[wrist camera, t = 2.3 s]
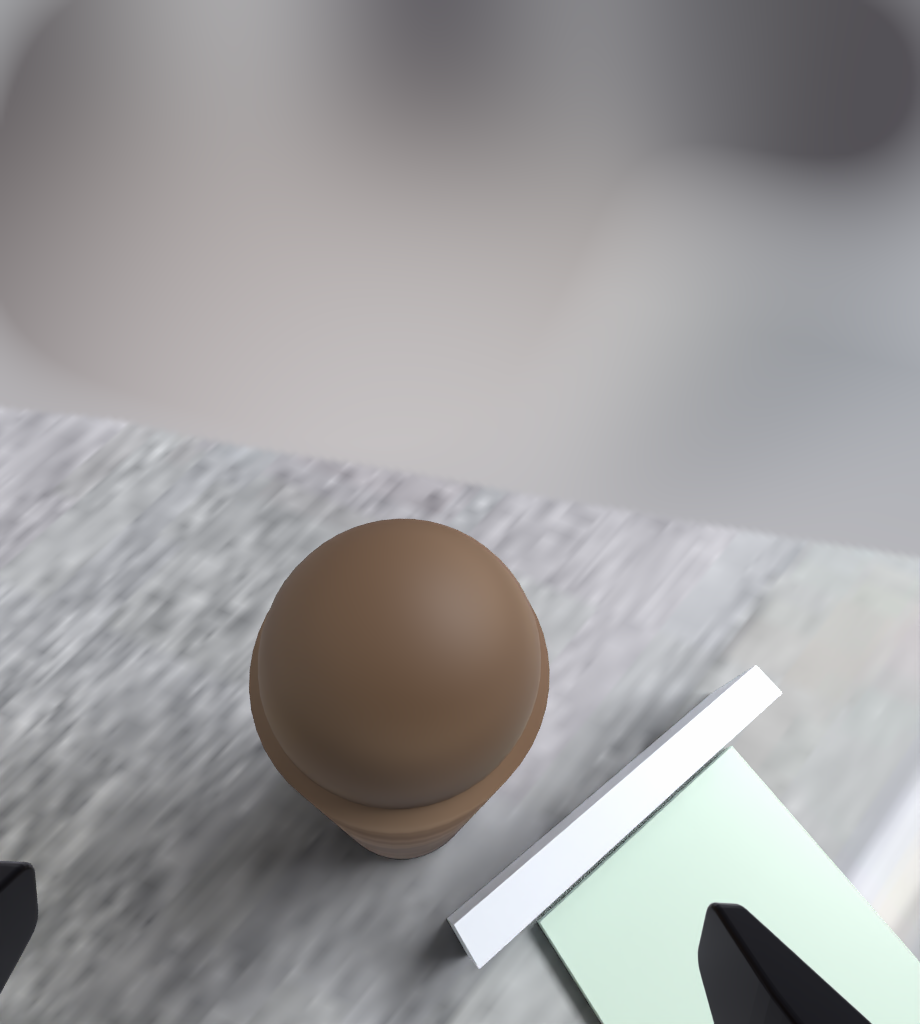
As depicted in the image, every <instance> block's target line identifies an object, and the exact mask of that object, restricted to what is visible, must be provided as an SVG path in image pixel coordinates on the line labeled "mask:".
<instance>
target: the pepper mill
mask: <svg viewBox="0 0 920 1024" xmlns="http://www.w3.org/2000/svg"><path fill="white" fill-rule="evenodd" d="M548 692H549V661H548V652H547V647H546V643H545V639H544V635H543V632H542V629H541V626H540V624H539V621H538V618H537V616H536V614H535V612H534V610H533V608H532V607H531V605H530V603H529V601H528V599H527V597H526V595H525V593H524V591H523V590H522V588H521V586H520V584H519V582H518V581H517V580H516V578H515V577H514V575H513V574H512V573H511V571H510V570H509V569H508V568H507V567H506V565H505V564H504V563H503V562H502V561H501V560H500V559H499V558H498V557H497V556H496V555H494V554H493V553H492V552H491V551H490V550H489V549H487V548H486V547H485V546H484V545H482V544H481V543H479V542H478V541H476V540H475V539H473V538H472V537H470V536H468V535H466V534H464V533H462V532H460V531H458V530H456V529H453V528H451V527H448V526H445V525H442V524H438V523H434V522H430V521H424V520H416V519H391V520H381V521H376V522H371V523H367V524H364V525H361V526H357V527H354V528H351V529H349V530H347V531H345V532H343V533H340V534H338V535H336V536H335V537H333V538H331V539H330V540H328V541H326V542H325V543H323V544H322V545H321V546H319V547H318V548H317V549H315V550H314V551H313V552H312V553H310V554H309V555H308V556H307V557H306V558H305V559H304V560H303V561H302V562H301V563H300V564H299V565H298V566H297V567H296V568H295V569H294V570H293V572H292V573H291V574H290V575H289V577H288V578H287V579H286V580H285V582H284V583H283V585H282V587H281V588H280V590H279V592H278V593H277V595H276V597H275V599H274V601H273V603H272V606H271V608H270V610H269V612H268V613H267V615H266V617H265V619H264V622H263V624H262V626H261V628H260V631H259V633H258V636H257V639H256V643H255V646H254V649H253V654H252V660H251V666H250V680H249V693H250V702H251V711H252V715H253V719H254V723H255V726H256V730H257V733H258V735H259V737H260V740H261V742H262V745H263V747H264V749H265V751H266V753H267V754H268V756H269V758H270V759H271V761H272V763H273V764H274V766H275V767H276V769H277V770H278V771H279V772H280V774H281V775H282V776H283V777H284V778H285V780H286V781H287V782H288V783H289V784H290V785H291V786H292V787H293V788H294V789H295V790H297V791H298V792H299V793H300V794H301V795H302V796H303V797H304V798H306V799H307V800H308V801H309V802H310V803H312V804H313V805H314V806H315V807H316V808H317V809H319V810H320V811H321V812H322V813H323V814H325V815H326V816H327V817H328V818H329V819H330V820H332V821H333V822H334V823H335V824H336V825H338V826H339V827H340V828H341V829H342V830H344V831H345V832H346V833H347V834H348V835H349V836H351V837H352V838H353V839H354V840H355V841H357V842H358V843H359V844H360V845H361V846H363V847H364V848H366V849H367V850H369V851H371V852H373V853H375V854H377V855H380V856H384V857H387V858H394V859H410V858H416V857H420V856H423V855H426V854H429V853H431V852H433V851H435V850H437V849H438V848H440V847H441V846H443V845H444V844H446V843H447V842H448V841H449V840H450V839H451V838H452V837H453V836H454V835H455V834H456V833H457V832H458V831H459V830H460V829H461V828H462V827H463V826H464V825H465V824H466V823H467V822H468V821H469V820H470V818H471V817H472V816H473V815H474V814H475V813H476V812H477V811H478V810H479V809H480V808H481V807H482V806H483V805H484V804H485V803H486V802H487V801H488V800H489V798H490V797H491V796H492V795H493V794H494V793H495V792H496V791H497V790H498V789H499V788H500V787H501V786H502V785H503V784H504V783H505V782H506V781H507V779H508V778H509V777H510V776H511V775H512V773H513V772H514V771H515V770H516V769H517V768H518V766H519V765H520V764H521V762H522V761H523V759H524V758H525V756H526V754H527V753H528V751H529V750H530V748H531V746H532V744H533V742H534V740H535V738H536V736H537V733H538V731H539V729H540V726H541V723H542V720H543V716H544V713H545V710H546V704H547V698H548Z"/></svg>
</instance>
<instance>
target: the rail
mask: <svg viewBox="0 0 920 1024" xmlns="http://www.w3.org/2000/svg"><path fill="white" fill-rule="evenodd" d="M781 694H782V692H781V691H780V690H779V689H778V688H777V686H776V685H775V684H774V683H773V682H772V681H771V680H770V679H769V678H768V677H767V676H766V675H765V674H764V673H763V672H762V671H761V670H760V669H759V667H758V666H757V665H755V666H753V667H752V668H750V669H749V670H747V671H745V672H744V673H742V674H741V675H739V676H737V677H736V678H734V679H733V680H731V681H730V682H728V683H726V684H725V685H723V686H722V687H720V688H718V689H717V690H715V691H714V692H712V693H711V694H710V695H709V696H707V697H706V698H705V699H704V700H703V701H702V702H700V703H699V704H698V705H697V706H696V707H695V708H693V709H692V710H691V711H690V712H689V713H688V714H686V715H685V716H684V717H683V718H682V719H680V720H679V721H678V722H677V723H676V724H675V725H673V726H672V727H671V728H670V729H669V730H668V731H666V732H665V733H664V734H663V735H662V736H661V737H659V738H658V739H657V740H656V741H655V742H653V743H652V744H651V745H650V746H649V747H648V748H646V749H645V750H644V751H643V752H642V753H641V754H639V755H638V756H637V757H636V758H635V759H633V760H632V761H631V762H630V763H629V764H628V765H626V766H625V767H624V768H623V769H622V770H621V771H619V772H618V773H617V774H616V775H615V776H614V777H612V778H611V779H610V780H609V781H608V782H606V783H605V784H604V785H603V786H602V787H601V788H599V789H598V790H597V791H596V792H595V793H594V794H592V795H591V796H590V797H589V798H588V799H587V800H585V801H584V802H583V803H582V804H581V805H579V806H578V807H577V808H576V809H575V810H574V811H572V812H571V813H570V814H569V815H568V816H567V817H565V818H564V819H563V820H562V821H561V822H560V823H558V824H557V825H556V826H555V827H554V828H552V829H551V830H550V831H549V832H548V833H547V834H545V835H544V836H543V837H542V838H541V839H540V840H538V841H537V842H536V843H535V844H534V845H533V846H531V847H530V848H529V849H528V850H527V851H525V852H524V853H523V854H522V855H521V856H520V857H518V858H517V859H516V860H515V861H514V862H513V863H511V864H510V865H509V866H508V867H507V868H506V869H504V870H503V871H502V872H501V873H500V874H498V875H497V876H496V877H495V878H494V879H493V880H491V881H490V882H489V883H488V884H487V885H486V886H484V887H483V888H482V889H481V890H480V891H479V892H477V893H476V894H475V895H474V896H473V897H471V898H470V899H469V900H468V901H467V902H466V903H464V904H463V905H462V906H461V907H460V908H459V909H457V910H456V911H455V912H454V913H453V914H451V915H450V916H449V917H448V918H447V920H448V922H449V923H450V925H451V927H452V929H453V930H454V932H455V934H456V936H457V937H458V939H459V941H460V943H461V944H462V946H463V948H464V950H465V951H466V953H467V955H468V956H469V957H470V959H471V960H472V961H473V962H474V963H475V965H476V966H477V967H478V968H479V969H480V968H481V967H482V966H483V965H484V964H485V963H487V962H488V961H489V960H490V959H491V958H492V957H493V956H494V955H495V954H496V953H498V952H499V951H500V950H501V949H502V948H503V947H504V946H505V945H506V944H507V943H509V942H510V941H511V940H512V939H513V938H514V937H515V936H516V935H517V934H518V933H520V932H521V931H522V930H523V929H524V928H525V927H526V926H527V925H528V924H529V923H530V922H532V921H533V920H534V919H535V918H536V917H537V916H538V915H539V914H540V913H541V912H543V911H544V910H545V909H546V908H547V907H548V906H549V905H550V904H551V903H552V902H554V901H555V900H556V899H557V898H558V897H559V896H560V895H561V894H562V893H563V892H565V891H566V890H567V889H568V888H569V887H570V886H571V885H572V884H573V883H574V882H575V881H577V880H578V879H579V878H580V877H581V876H582V875H583V874H584V873H585V872H586V871H588V870H589V869H590V868H591V867H592V866H593V865H594V864H595V863H596V862H597V861H599V860H600V859H601V858H602V857H603V856H604V855H605V854H606V853H607V852H608V851H610V850H611V849H612V848H613V847H614V846H615V845H616V844H617V843H618V842H619V841H620V840H622V839H623V838H624V837H625V836H626V835H627V834H628V833H629V832H630V831H631V830H633V829H634V828H635V827H636V826H637V825H638V824H639V823H640V822H641V821H642V820H644V819H645V818H646V817H647V816H648V815H649V814H650V813H651V812H652V811H653V810H655V809H656V808H657V807H658V806H659V805H660V804H661V803H662V802H663V801H664V800H666V799H667V798H668V797H669V796H670V795H671V794H672V793H673V792H674V791H675V790H676V789H678V788H679V787H680V786H681V785H682V784H683V783H684V782H685V781H686V780H687V779H689V778H690V777H691V776H692V775H693V774H694V773H695V772H696V771H697V770H698V769H700V768H701V767H702V766H703V765H704V764H705V763H706V762H707V761H708V760H709V759H711V758H712V757H713V756H714V755H715V754H716V753H717V752H718V751H719V750H720V749H721V748H723V747H724V746H725V745H726V744H727V743H728V742H729V741H730V740H731V739H732V738H734V737H735V736H736V735H737V734H738V733H739V732H740V731H741V730H742V729H743V728H745V727H746V726H747V725H748V724H749V723H750V722H751V721H752V720H753V719H754V718H756V717H757V716H758V715H759V714H760V713H761V712H762V711H763V710H764V709H765V708H766V707H768V706H769V705H770V704H771V703H772V702H773V701H774V700H775V699H776V698H777V697H779V696H780V695H781Z"/></svg>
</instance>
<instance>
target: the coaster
mask: <svg viewBox="0 0 920 1024" xmlns="http://www.w3.org/2000/svg"><path fill="white" fill-rule="evenodd" d="M714 902H719V903H735V904H739V905H741V906H743V907H744V908H746V909H747V910H748V911H749V912H750V913H751V914H753V915H754V916H755V917H756V918H757V919H758V920H759V921H760V922H761V923H762V924H763V925H765V926H766V927H767V928H768V929H769V930H770V931H771V932H772V933H773V934H774V935H776V936H777V937H778V938H779V939H780V940H781V941H782V942H783V943H784V944H785V945H787V946H788V947H789V948H790V949H791V950H792V951H793V952H794V953H795V954H796V955H797V956H799V957H800V958H801V959H802V960H803V961H804V962H805V963H806V964H807V965H808V966H810V967H811V968H812V969H813V970H814V971H815V972H816V973H817V974H818V975H819V976H821V977H822V978H823V979H824V980H825V981H826V982H827V983H828V984H829V985H830V986H831V987H833V988H834V989H835V990H836V991H837V992H838V993H839V994H840V995H841V996H842V997H844V998H845V999H846V1000H847V1001H848V1002H849V1003H850V1004H851V1005H852V1006H853V1007H854V1008H856V1009H857V1010H858V1011H859V1012H860V1013H861V1014H862V1015H863V1016H864V1017H865V1018H867V1019H868V1020H869V1021H870V1022H871V1023H872V1024H920V962H919V961H918V960H917V958H916V957H915V956H914V955H913V954H912V953H911V951H910V950H909V949H908V948H907V947H906V946H905V945H904V943H903V942H902V941H901V940H900V939H899V938H898V937H897V935H896V934H895V933H894V932H893V931H892V930H891V928H890V927H889V926H888V925H887V924H886V923H885V922H884V920H883V919H882V918H881V917H880V916H879V915H878V913H877V912H876V911H875V910H874V909H873V908H872V907H871V905H870V904H869V903H868V902H867V901H866V900H865V899H864V897H863V896H862V895H861V894H860V893H859V892H858V890H857V889H856V888H855V887H854V886H853V885H852V884H851V882H850V881H849V880H848V879H847V878H846V877H845V876H844V874H843V873H842V872H841V871H840V870H839V869H838V867H837V866H836V865H835V864H834V863H833V862H832V861H831V859H830V858H829V857H828V856H827V855H826V854H825V852H824V851H823V850H822V849H821V848H820V847H819V846H818V844H817V843H816V842H815V841H814V840H813V839H812V838H811V836H810V835H809V834H808V833H807V832H806V831H805V829H804V828H803V827H802V826H801V825H800V824H799V823H798V821H797V820H796V819H795V818H794V817H793V816H792V815H791V813H790V812H789V811H788V810H787V809H786V808H785V806H784V805H783V804H782V803H781V802H780V801H779V800H778V798H777V797H776V796H775V795H774V794H773V793H772V791H771V790H770V789H769V788H768V787H767V786H766V785H765V783H764V782H763V781H762V780H761V779H760V778H759V777H758V775H757V774H756V773H755V772H754V771H753V770H752V768H751V767H750V766H749V765H748V764H747V763H746V762H745V760H744V759H743V758H742V757H741V756H740V755H739V754H738V752H737V751H736V750H735V749H734V748H733V747H732V746H731V747H728V748H726V749H725V750H724V751H723V752H722V753H721V754H720V755H719V756H717V757H716V758H715V759H714V760H713V761H712V762H711V763H710V764H709V765H708V766H706V767H705V768H704V769H703V770H702V771H701V772H700V773H699V774H698V775H697V776H696V777H694V778H693V779H692V780H691V781H690V782H689V783H688V784H687V785H686V786H685V787H684V788H682V789H681V790H680V791H679V792H678V793H677V794H676V795H675V796H674V797H673V798H672V799H670V800H669V801H668V802H667V803H666V804H665V805H664V806H663V807H662V808H661V809H660V810H658V811H657V812H656V813H655V814H654V815H653V816H652V817H651V818H650V819H649V820H647V821H646V822H645V823H644V824H643V825H642V826H641V827H640V828H639V829H638V830H637V831H635V832H634V833H633V834H632V835H631V836H630V837H629V838H628V839H627V840H626V841H625V842H623V843H622V844H621V845H620V846H619V847H618V848H617V849H616V850H615V851H614V852H613V853H611V854H610V855H609V856H608V857H607V858H606V859H605V860H604V861H603V862H602V863H600V864H599V865H598V866H597V867H596V868H595V869H594V870H593V871H592V872H591V873H590V874H588V875H587V876H586V877H585V878H584V879H583V880H582V881H581V882H580V883H579V884H578V885H576V886H575V887H574V888H573V889H572V890H571V891H570V892H569V893H568V894H567V895H566V896H564V897H563V898H562V899H561V900H560V901H559V902H558V903H557V904H556V905H555V906H553V907H552V908H551V909H550V910H549V911H548V912H547V913H546V914H545V915H544V916H543V917H541V918H540V919H539V920H538V921H537V922H538V924H539V925H540V927H541V929H542V930H543V932H544V933H545V935H546V937H547V938H548V940H549V941H550V943H551V944H552V946H553V948H554V949H555V951H556V952H557V954H558V956H559V957H560V959H561V960H562V962H563V963H564V965H565V967H566V968H567V970H568V971H569V973H570V975H571V976H572V978H573V979H574V981H575V982H576V984H577V986H578V987H579V989H580V990H581V992H582V994H583V995H584V997H585V998H586V1000H587V1002H588V1003H589V1005H590V1006H591V1008H592V1009H593V1011H594V1013H595V1014H596V1016H597V1017H598V1019H599V1021H600V1022H601V1024H714V1022H713V1018H712V1015H711V1011H710V1007H709V1004H708V1000H707V996H706V993H705V989H704V986H703V982H702V978H701V975H700V971H699V965H698V946H699V942H700V937H701V933H702V928H703V924H704V919H705V914H706V911H707V908H708V906H709V905H710V904H711V903H714Z"/></svg>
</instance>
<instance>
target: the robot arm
mask: <svg viewBox="0 0 920 1024" xmlns="http://www.w3.org/2000/svg"><path fill="white" fill-rule="evenodd" d="M37 919H38V903H37V891H36V880H35V871H34V868H33V866H32V865H31V864H30V863H27V862H12V861H0V993H1V992H2V990H3V988H4V986H5V984H6V982H7V980H8V979H9V977H10V975H11V973H12V971H13V969H14V968H15V966H16V964H17V962H18V960H19V958H20V957H21V955H22V953H23V951H24V949H25V947H26V946H27V944H28V942H29V940H30V938H31V936H32V934H33V932H34V929H35V927H36V923H37ZM698 965H699V971H700V975H701V978H702V982H703V986H704V989H705V993H706V996H707V1000H708V1004H709V1007H710V1011H711V1015H712V1018H713V1022H714V1024H872V1023H871V1022H870V1021H869V1020H868V1019H867V1018H865V1017H864V1016H863V1015H862V1014H861V1013H860V1012H859V1011H858V1010H857V1009H856V1008H854V1007H853V1006H852V1005H851V1004H850V1003H849V1002H848V1001H847V1000H846V999H845V998H844V997H842V996H841V995H840V994H839V993H838V992H837V991H836V990H835V989H834V988H833V987H831V986H830V985H829V984H828V983H827V982H826V981H825V980H824V979H823V978H822V977H821V976H819V975H818V974H817V973H816V972H815V971H814V970H813V969H812V968H811V967H810V966H808V965H807V964H806V963H805V962H804V961H803V960H802V959H801V958H800V957H799V956H797V955H796V954H795V953H794V952H793V951H792V950H791V949H790V948H789V947H788V946H787V945H785V944H784V943H783V942H782V941H781V940H780V939H779V938H778V937H777V936H776V935H774V934H773V933H772V932H771V931H770V930H769V929H768V928H767V927H766V926H765V925H763V924H762V923H761V922H760V921H759V920H758V919H757V918H756V917H755V916H754V915H753V914H751V913H750V912H749V911H748V910H747V909H746V908H744V907H743V906H741V905H739V904H735V903H719V902H714V903H711V904H710V905H709V906H708V908H707V911H706V914H705V919H704V924H703V928H702V933H701V937H700V942H699V946H698Z"/></svg>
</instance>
